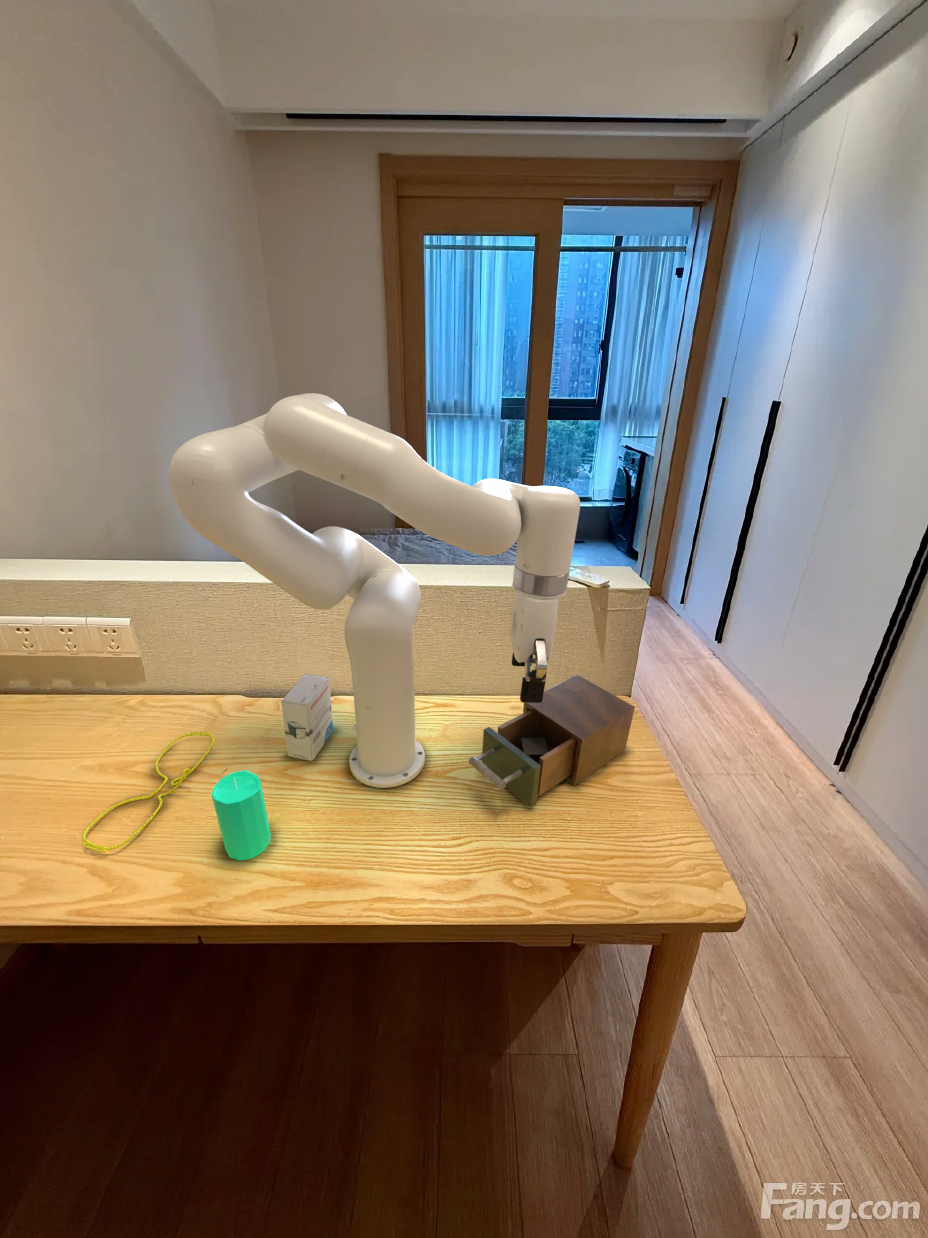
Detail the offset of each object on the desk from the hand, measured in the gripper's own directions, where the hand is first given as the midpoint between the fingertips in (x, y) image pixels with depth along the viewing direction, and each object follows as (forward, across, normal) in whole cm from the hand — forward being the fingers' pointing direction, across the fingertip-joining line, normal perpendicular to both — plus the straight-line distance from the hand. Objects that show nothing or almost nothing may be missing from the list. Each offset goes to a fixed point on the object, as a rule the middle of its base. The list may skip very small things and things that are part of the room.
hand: (525, 682), depth 79 cm
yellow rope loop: (+20, +4, -56) cm, 59 cm away
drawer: (+17, +2, +1) cm, 17 cm away
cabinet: (+17, -5, +11) cm, 21 cm away
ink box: (+19, -7, -35) cm, 40 cm away
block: (+16, +1, +3) cm, 16 cm away
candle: (+19, +14, -39) cm, 46 cm away
